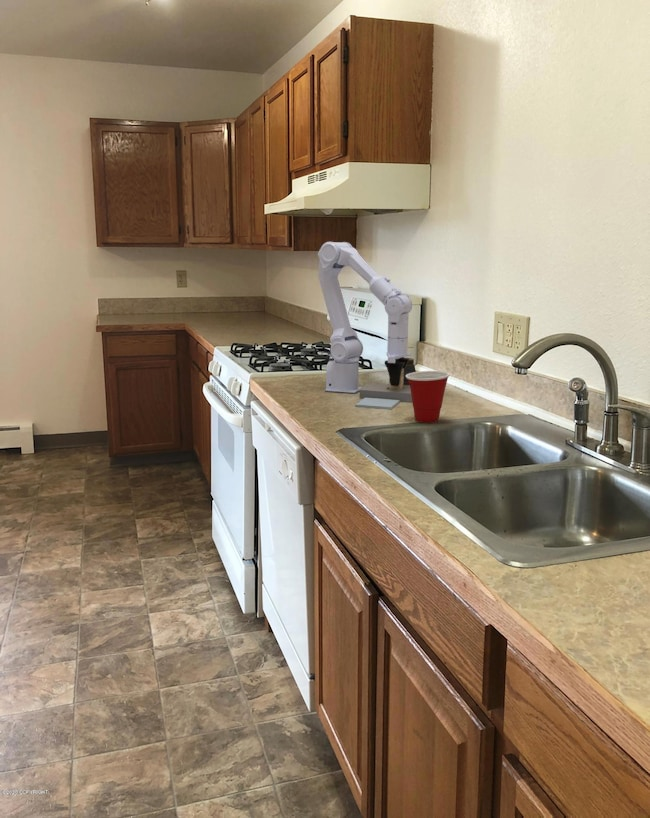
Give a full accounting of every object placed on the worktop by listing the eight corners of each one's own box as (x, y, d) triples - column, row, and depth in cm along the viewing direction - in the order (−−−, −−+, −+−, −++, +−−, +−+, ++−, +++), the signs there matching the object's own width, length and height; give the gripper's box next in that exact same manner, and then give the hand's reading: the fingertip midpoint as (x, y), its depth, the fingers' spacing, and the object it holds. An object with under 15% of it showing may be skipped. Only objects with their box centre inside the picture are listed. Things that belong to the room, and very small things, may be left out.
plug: (388, 396, 206) (389, 369, 205) (391, 394, 209) (392, 367, 208) (400, 397, 205) (401, 370, 204) (402, 395, 208) (403, 368, 207)
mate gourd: (415, 381, 232) (416, 351, 230) (416, 385, 224) (417, 354, 222) (393, 381, 233) (394, 350, 230) (393, 385, 225) (393, 353, 223)
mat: (355, 406, 194) (355, 404, 194) (365, 399, 203) (365, 397, 203) (391, 409, 191) (391, 407, 191) (399, 402, 200) (399, 400, 200)
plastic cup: (399, 415, 184) (401, 369, 181) (440, 414, 185) (442, 369, 182) (409, 425, 173) (411, 377, 171) (452, 424, 175) (455, 376, 172)
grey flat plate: (359, 398, 205) (359, 389, 204) (370, 390, 216) (370, 382, 215) (421, 403, 199) (421, 394, 199) (429, 395, 210) (429, 386, 210)
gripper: (406, 341, 196) (404, 389, 199) (416, 335, 209) (415, 381, 212) (381, 339, 198) (379, 388, 201) (393, 334, 211) (391, 379, 214)
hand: (396, 384), depth 207 cm, fingers closed on plug, 3 cm apart
